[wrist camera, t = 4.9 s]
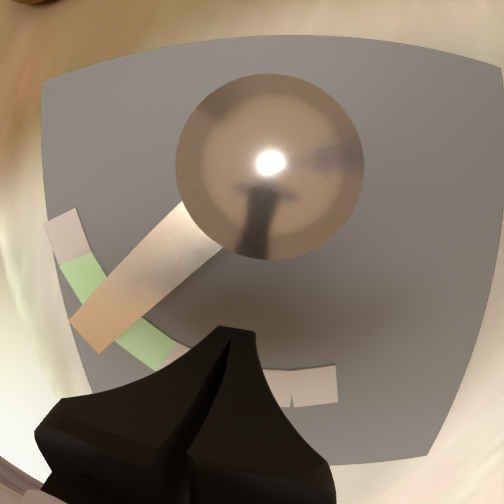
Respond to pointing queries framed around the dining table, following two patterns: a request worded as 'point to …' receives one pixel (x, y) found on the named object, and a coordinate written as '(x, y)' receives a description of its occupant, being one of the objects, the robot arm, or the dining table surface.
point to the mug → (28, 1)
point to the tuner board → (309, 264)
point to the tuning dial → (239, 193)
